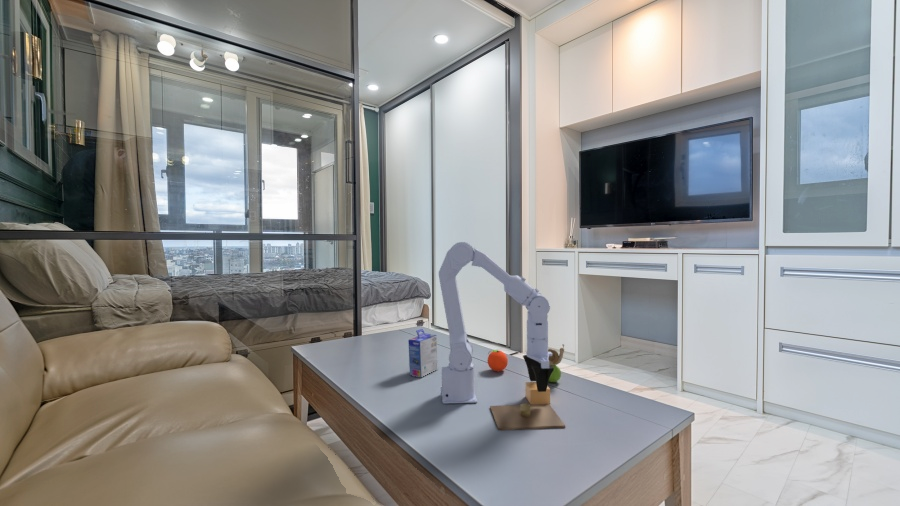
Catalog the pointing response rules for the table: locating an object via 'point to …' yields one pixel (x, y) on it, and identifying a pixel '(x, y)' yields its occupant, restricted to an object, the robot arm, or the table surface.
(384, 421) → the table surface
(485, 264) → the robot arm
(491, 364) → the clementine
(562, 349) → the snail figurine
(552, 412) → the post board
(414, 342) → the ink cartridge box
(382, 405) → the table surface
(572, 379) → the table surface
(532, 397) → the cardboard-colored cube
